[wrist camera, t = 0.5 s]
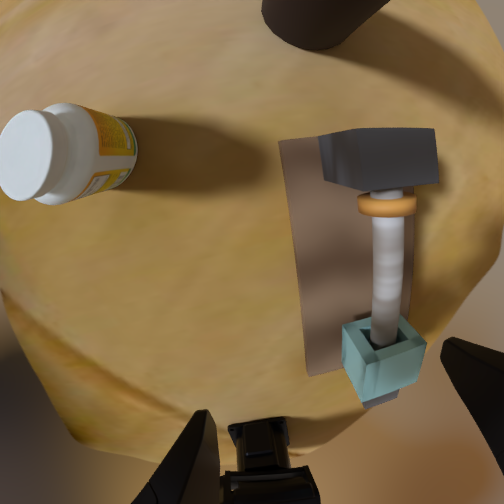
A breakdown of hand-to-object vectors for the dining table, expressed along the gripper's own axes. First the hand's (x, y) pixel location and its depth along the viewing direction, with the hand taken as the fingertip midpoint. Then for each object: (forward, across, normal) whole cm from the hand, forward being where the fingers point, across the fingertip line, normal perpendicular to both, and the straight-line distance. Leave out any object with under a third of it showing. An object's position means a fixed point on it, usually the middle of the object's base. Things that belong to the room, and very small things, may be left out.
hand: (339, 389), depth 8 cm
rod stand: (+13, -6, +2) cm, 14 cm away
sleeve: (+10, -6, +7) cm, 14 cm away
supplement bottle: (+13, +10, -11) cm, 20 cm away
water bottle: (+13, -6, -18) cm, 23 cm away
